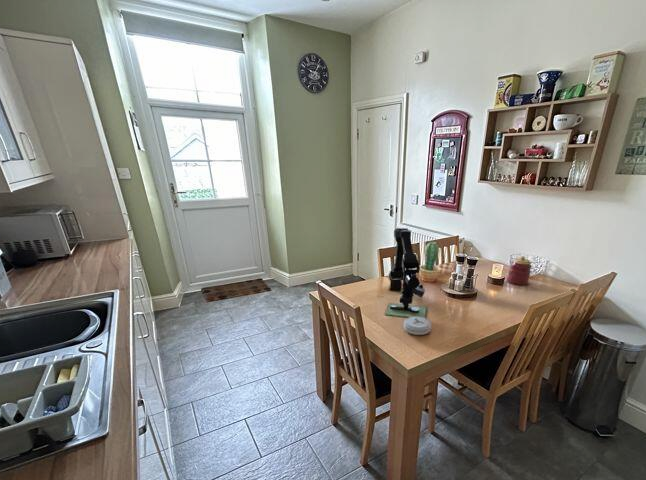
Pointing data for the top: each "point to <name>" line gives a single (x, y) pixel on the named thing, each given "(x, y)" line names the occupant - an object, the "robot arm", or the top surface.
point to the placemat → (405, 313)
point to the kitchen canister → (519, 271)
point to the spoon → (413, 309)
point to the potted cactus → (430, 263)
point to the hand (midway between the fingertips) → (406, 308)
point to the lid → (417, 325)
